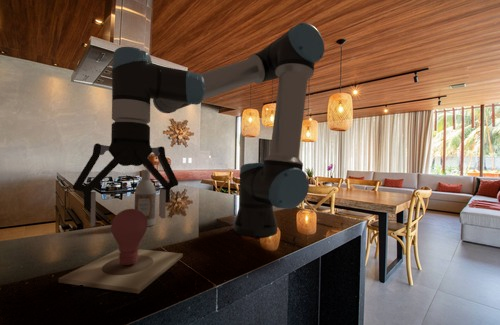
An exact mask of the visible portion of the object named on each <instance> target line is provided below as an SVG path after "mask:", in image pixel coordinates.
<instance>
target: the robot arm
mask: <svg viewBox="0 0 500 325" xmlns="http://www.w3.org/2000/svg"><path fill="white" fill-rule="evenodd" d="M324 54H325V43H324V39H323V37H322V35H321V33H320V31H319V30H318V29H317V28H316V27H315V26H314V25H312V24H311V23H307V22H300V23H298V24H296V25H294V26H291V27H290V28H289V30H288V31H286V32H284V34H282V35H281V36H279V37H278V38H277V39H275V40H274V41H272V42H271V43H270V44H268V45H267V46H266V47H264V48H263V49H261V50H260V51H258V52H256V53H253V54H250V55H249V56H248V57H247V59H244V60H240V61H237V62H234V63H231V64H226V65H224V66H220V67H217V68H213V69H211V70H207V71H204V72H200V73H196V72H193V71H190V70H183V69H179V68H173V67H167V66H162V65H157V64H154V63H153V61H152V57H151V55H150V54H149V53H148V52H147V51H146V50H143V49H140V48H137V47H134V46H121V47H117V48H116V49H115V50H114V52H113V53H112V67H111V68H112V69H111V94H112V95H111V120H112V121H114V122H112V123H111V133H110V134H111V135H110V136H111V139H110V140H111V141H110V145H106V144H105V145H104V144H100V143H95V144H93V150H92V155H91V156H90V157H89V159H88V160H87V163H86V164H85V166H84V168H83V169H82V171H81V172H80V174H79V176H78V177H77V179H76V181H75V182H74V183H73V185H72V189H73V190H74V191H79V192H82V193H83V208H84V209H85V210H90V227H95V226H96V207H97V206H96V202H97V201H96V200H97V199H96V198H97V197H96V195H97V194H96V191H93V190H94V189H95V188H96V187H97V186H98V185H99V184H100V183H101V182H102V181H103V180H104V179H105V178H106V177H107V176H108V175H109V174H110V173H111V172H112V171H113V170H114V169H115V168H116V167H117V166H118V165H120V166H121V167H129V166H133V167H140V166H142V165H143V167H144V168H146V170H148V171H149V172H150V175H152V176H153V178H154V179H155V180H156V181H157V182H158V183H159V184H160V185H161V186H162V188H159V191H158V193H159V195H158V196H159V199H158V202H159V204H158V205H159V208H158V213H159V214H158V217H160V218H161V219H165V218H166V203H167V204H168V203H170V201H171V190H172V188H174V187H178V185H179V181H178V179H177V177H176V176H175V173H174V171H173V169H172V166H171V165H170V163H169V160H168V159H167V157H166V149H165V147H164V146H158V147H151V146H152V145H151V126H150V125H149V123H150V122H151V100H152V103H153V106H154V107H155V108H156V110H158V111H159V112H160V113H163V114H172V113H176V111H178V110H179V109H182V108H185V107H188V106H190V105H198V106H199V105H200V104H201V103H202V102H203V101H204V100H207V99H210V98H213V97H216V96H219V95H221V94H224V93H227V92H230V91H233V90H235V89H238V88H242V87H244V86H247V85H250V84H252V83H253V84H258V85H259V84H262V83H264V82H265V83H266V82H269V81H273V80H276V79H277V80H278V86H277V93H276V94H277V95H276V102H275V109H274V117H273V126H272V133H271V142H270V143H271V144H270V150H269V155H267V156H266V157H265V158H264V159H263V162H250V163H249V162H248V163H244V164H242V165H241V166H240V169H239V171H240V172H239V200H238V201H239V205H238V206H239V207H238V211H237V213H236V217H235V219H234V222H233V231H234V233H236V234H238V235H242V236H245V237H246V236H247V237H269V236H273V235H275V234H277V232H278V221H277V219H276V214H275V211H274V208H278V209H285V210H291V209H294V208H297V207H299V205H300V204H301V203H303V202H304V200H305V199H306V197H307V195H308V193H309V188H310V180H309V178H308V177H307V174H306V173H305V171H303V167H304V164H303V162H302V161H301V159H300V157H299V156H300V146H301V139H302V132H303V131H302V130H303V121H304V113H305V112H304V111H305V104H306V96H307V90H308V80H310V79H311V78H312V77H313V76H314V73H315V72H314V71H315V64H316V63H317V62H319V61H320V60H321V59H322V58H323V56H324ZM106 152H109V153H110V155H111V156H112V157H113V158H112V159H111V160H110V161H109V162H108V164H106V166H105V167H103V169H101V170H100V171H99V173H98V174H97V175H95V177H93V179H91V181H89V183H88V184H87V185H86V184H84V183H85V181H86V179H87V178H88V177H89V175H90V173H91V171H92V170H93V168H94V166H95V165H96V163H97V161H98V160H99V158H100V156H103V155H105V153H106ZM152 153H153V154H154V156H155V157H157V159H158V161H159V164H160V166H161V167H162V170H163V172H164V174H165V175H166V178H167V179H168V181H167V180H166V178H165V177H164V175H162V174H161V172H160V171H159V170H158V169H157V168H156V167H155V166H154V164H153V163H152V161H150V160H149V158H150V156H151V154H152ZM273 207H274V208H273Z"/></svg>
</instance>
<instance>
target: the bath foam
mask: <svg viewBox="0 0 500 325" xmlns="http://www.w3.org/2000/svg"><path fill="white" fill-rule="evenodd" d="M156 198H157V191H156V187H155V185H154V184H153V182H152V180H151V173H150V172H149V171H148V170H147V169H141V180H140V181H139V183H137V185H136V187H135V192H134V209H136V210H139V211H141V212H142V213H143V214H144V215H145V216H146V218H147V224H148V225H147V228H148V226H149V227H153V226H154V225H155V224H156V209H157V208H156V206H157V205H156V203H157V202H156V200H157V199H156Z"/></svg>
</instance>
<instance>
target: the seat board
mask: <svg viewBox="0 0 500 325" xmlns="http://www.w3.org/2000/svg"><path fill="white" fill-rule="evenodd" d="M120 253H121V252H120V251H119V248H118V249H116V250H114V251H111V252H110V253H108V254H106V255H104V256H102V257H100V258H97V259H95V260H94V261H92V262H89V263H87V264H85V265H83V266H81V267H79V268H77V269H75V270H72V271H70V272H69V273H66V274H64V275H62V276H60V277H58V283H60V284H66V285H68V284H69V285H74V286H80V285H83V286H82V287H88V288H95V289H96V288H97V289H103V290H110V291H116V292H124V293H133V294H140V293H141V292H142V291H144V289H146V288H147V287H148V286H149V285H151V284H152V283H154V281H156V280H157V279H158V278H159V277H160V276H162V275H163V274H164V273H165V272H166V271H168V270H169V269H170V268H171V267H173V266H174V265H175V264H176V263H178V261H180V260H181V259H182V258H183V256H184V254H183V253H181V252H179V253H178V252H169V251H162V250H161V251H160V250H150V249H141V248H139V249H138V258H137V262H136V263H133V264H130V265H124V264H120V263H119V261H120V260H119V259H120V258H119V256H120V255H119V254H120Z"/></svg>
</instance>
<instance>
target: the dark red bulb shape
mask: <svg viewBox="0 0 500 325" xmlns="http://www.w3.org/2000/svg"><path fill="white" fill-rule="evenodd" d="M147 225H148V224H147V218H146V216H145V215H144V214H143V213H142V212H141V211H139V210H136V209H135V208H126V209H123V210H121V211H120V212H118V213H117V214H116V215H115V216H114V217H113V219H112V222H111V225H110V226H111V227H110V231H111V234H112V236H113V238H114V240H115V241H116V243H117V244H118V249H119V251H120V252H121V253H120V254H119V255H120V256H119V258H120V259H119V260H120V261H119V263H120V264H124V265H130V264H133V263H136V262H137V258H138V249H140V243H141V242H142V239H143V237H144V236H145V233H146V232H147V229H148V227H147Z"/></svg>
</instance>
